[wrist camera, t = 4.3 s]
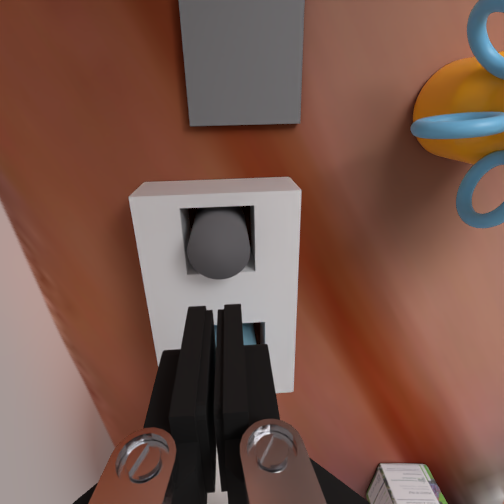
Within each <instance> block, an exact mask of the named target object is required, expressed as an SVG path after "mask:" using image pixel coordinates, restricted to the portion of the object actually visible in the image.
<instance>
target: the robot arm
mask: <svg viewBox="0 0 504 504" xmlns="http://www.w3.org/2000/svg"><path fill="white" fill-rule="evenodd" d="M216 448H217V453H218V463H219V473H220V483H221V492H226V491H227V495H228V504H371V503H369V502H368V501H367V500H365V499H364V498H363V497H361V496H360V495H359V494H357V493H356V492H355V491H353V490H352V489H351V488H349V487H348V486H347V485H345V484H344V483H343V482H341V481H340V480H339V479H337V478H336V477H335V476H333V475H332V474H331V473H329V472H328V471H327V470H325V469H324V468H323V467H321V466H320V465H319V464H317V463H316V462H315V461H313V460H312V459H311V458H309V456H308V453H307V450H306V448H305V445H304V443H303V440H302V438H301V436H300V435H299V433H298V431H297V430H296V429H295V428H293V427H292V426H291V425H290V424H288V423H286V422H284V421H282V420H280V417H279V411H278V405H277V399H276V392H275V386H274V380H273V374H272V368H271V362H270V356H269V349H268V345H267V344H255V345H244V341H243V326H242V312H241V304H227V305H224V309H218V314H217V338H216V342H215V330H214V319H213V310H207V309H206V306H190V307H188V311H187V316H186V322H185V327H184V333H183V338H182V344H181V349H174V350H164V351H163V352H162V355H161V359H160V363H159V367H158V371H157V375H156V379H155V383H154V387H153V391H152V395H151V399H150V404H149V408H148V412H147V416H146V420H145V424H144V428H143V429H140V430H138V431H135V432H133V433H131V434H130V435H128V436H127V437H125V438H124V439H123V440H122V441H121V442H120V443H119V444H118V445H117V446H116V448H115V450H114V451H113V453H112V455H111V456H110V458H109V461H108V463H107V465H106V467H105V469H104V471H103V473H102V475H101V477H100V480H99V482H98V483H97V484H96V485H94V486H93V487H92V488H91V489H90V490H88V491H87V492H86V493H85V494H83V495H82V496H81V497H80V498H79V499H78V500H76V501H75V502H74V503H73V504H207V494H208V493H214V492H215V483H216Z"/></svg>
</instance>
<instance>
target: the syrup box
mask: <svg viewBox="0 0 504 504" xmlns="http://www.w3.org/2000/svg"><path fill="white" fill-rule="evenodd" d="M366 497H367V500H368V502H369V503H371V504H447V502H446V500H445V498H444V497H443V495H442V493H441V491H440V489H439V487H438V486H437V484H436V482H435V480H434V478H433V476H432V474H431V473H430V471H429V469H428V467H427V466H426V465H425V464H384V463H380V464H379V466H378V468H377V471H376V473H375V475H374V477H373V480H372V482H371V484H370V486H369V488H368V491H367V493H366Z"/></svg>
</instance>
